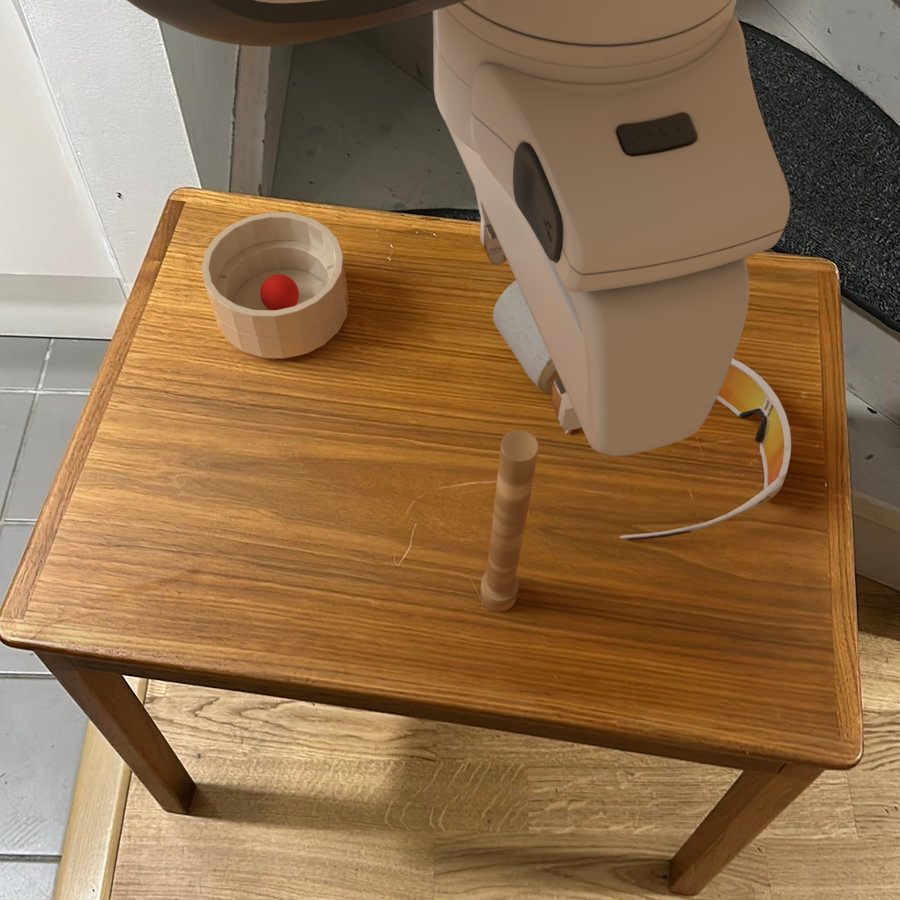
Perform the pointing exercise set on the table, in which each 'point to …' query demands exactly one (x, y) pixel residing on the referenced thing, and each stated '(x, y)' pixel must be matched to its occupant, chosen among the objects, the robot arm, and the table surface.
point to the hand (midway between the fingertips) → (536, 328)
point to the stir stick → (509, 519)
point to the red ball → (279, 292)
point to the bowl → (269, 253)
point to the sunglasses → (745, 399)
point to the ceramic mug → (524, 337)
